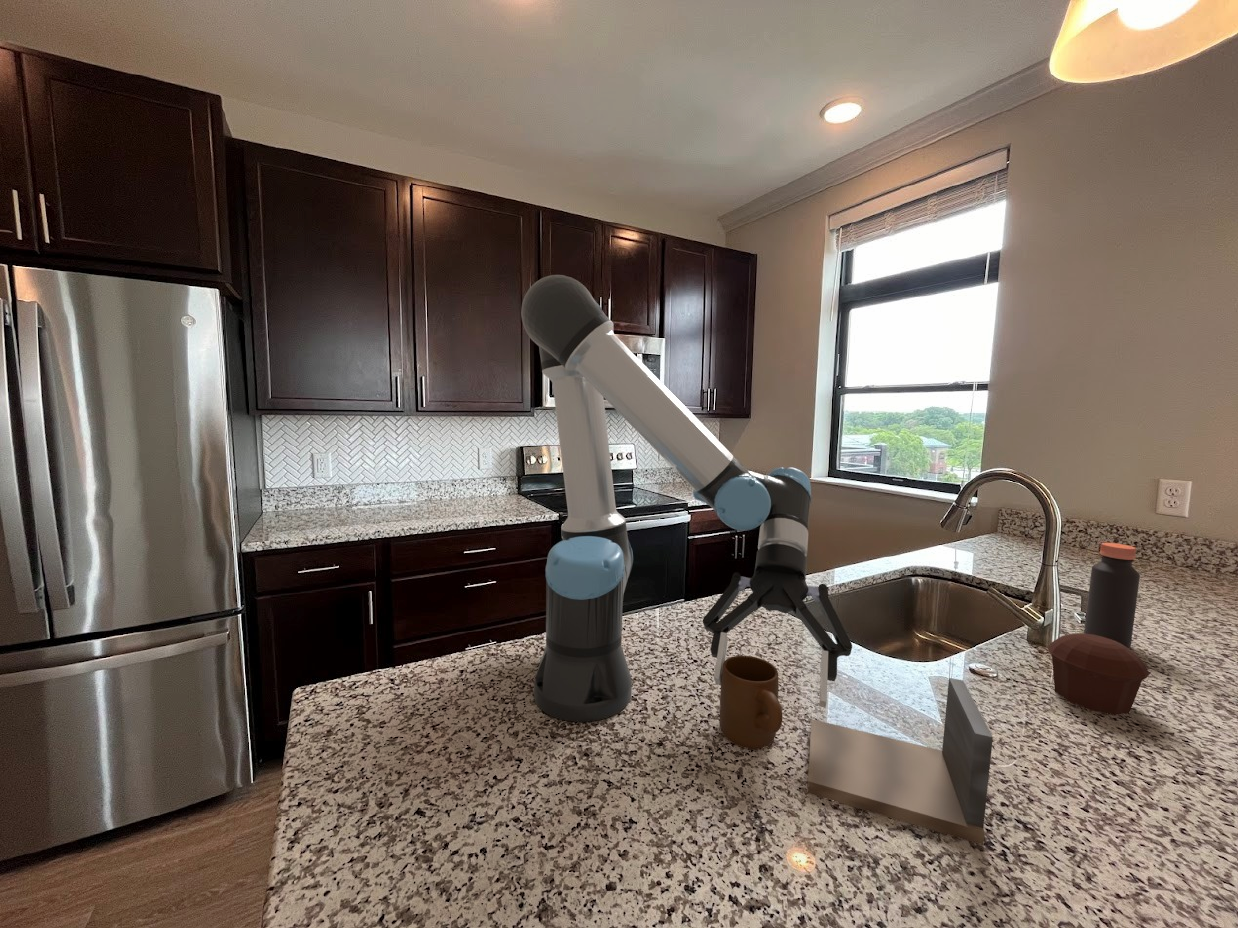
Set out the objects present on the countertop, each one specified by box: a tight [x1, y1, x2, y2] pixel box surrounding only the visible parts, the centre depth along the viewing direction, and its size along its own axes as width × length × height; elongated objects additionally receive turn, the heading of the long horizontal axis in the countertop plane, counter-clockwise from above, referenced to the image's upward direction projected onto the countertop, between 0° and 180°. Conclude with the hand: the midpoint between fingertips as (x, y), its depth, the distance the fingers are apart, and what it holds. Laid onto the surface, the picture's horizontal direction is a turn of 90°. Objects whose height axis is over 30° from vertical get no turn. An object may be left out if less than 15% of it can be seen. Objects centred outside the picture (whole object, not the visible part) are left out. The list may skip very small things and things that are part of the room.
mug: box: [718, 655, 783, 750], centre depth 66 cm, size 12×8×9 cm, turn 10°
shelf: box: [807, 677, 994, 846], centre depth 60 cm, size 17×13×12 cm
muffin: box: [1046, 632, 1151, 717], centre depth 78 cm, size 12×11×10 cm
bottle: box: [1083, 542, 1141, 649], centre depth 99 cm, size 7×7×20 cm
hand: (768, 692), depth 66 cm, fingers open, 13 cm apart
